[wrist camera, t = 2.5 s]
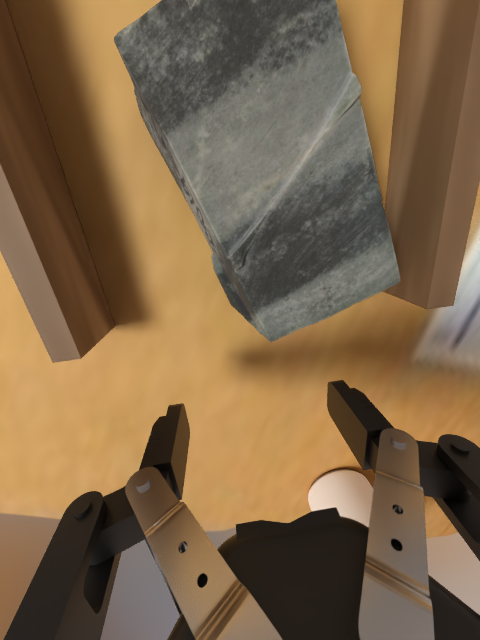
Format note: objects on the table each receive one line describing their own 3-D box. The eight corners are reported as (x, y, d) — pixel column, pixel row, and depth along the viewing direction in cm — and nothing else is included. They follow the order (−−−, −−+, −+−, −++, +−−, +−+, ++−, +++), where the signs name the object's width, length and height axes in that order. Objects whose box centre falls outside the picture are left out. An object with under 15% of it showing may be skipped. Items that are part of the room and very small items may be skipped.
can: (373, 496, 26) (487, 696, 15) (317, 516, 27) (386, 724, 16) (359, 457, 24) (480, 661, 13) (297, 481, 24) (362, 695, 13)
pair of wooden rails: (459, -179, 10) (655, -509, 6) (401, 286, 18) (466, 307, 13) (-85, -130, 10) (-363, -453, 5) (89, 329, 17) (41, 368, 13)
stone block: (244, 324, 18) (252, 361, 14) (126, 109, 13) (71, 43, 8) (357, 269, 17) (409, 286, 12) (276, 13, 12) (311, -126, 7)
